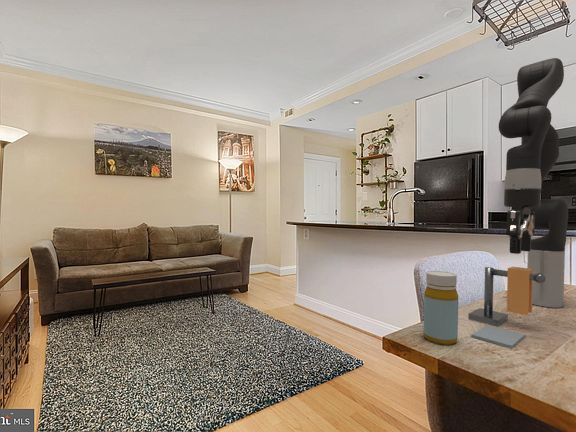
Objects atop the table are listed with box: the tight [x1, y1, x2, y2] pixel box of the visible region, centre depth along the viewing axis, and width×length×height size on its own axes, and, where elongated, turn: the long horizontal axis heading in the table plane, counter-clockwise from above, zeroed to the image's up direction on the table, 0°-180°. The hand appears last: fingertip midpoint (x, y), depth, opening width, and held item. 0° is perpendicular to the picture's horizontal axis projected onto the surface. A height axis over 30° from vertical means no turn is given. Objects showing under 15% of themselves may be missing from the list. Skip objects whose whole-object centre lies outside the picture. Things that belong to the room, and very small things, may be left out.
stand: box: [467, 266, 546, 327], centre depth 84 cm, size 8×16×14 cm, turn 40°
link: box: [506, 266, 533, 316], centre depth 82 cm, size 4×4×11 cm
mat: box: [470, 324, 526, 349], centre depth 75 cm, size 10×8×1 cm
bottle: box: [422, 270, 459, 346], centre depth 74 cm, size 7×7×15 cm
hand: (520, 252), depth 82 cm, fingers open, 8 cm apart
